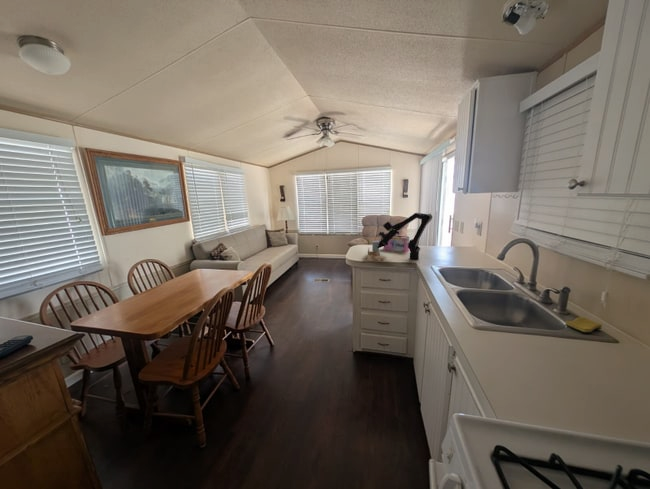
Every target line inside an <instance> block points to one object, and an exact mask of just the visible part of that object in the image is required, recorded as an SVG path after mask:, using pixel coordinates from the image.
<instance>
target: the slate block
mask: <svg viewBox="0 0 650 489" xmlns="http://www.w3.org/2000/svg"><path fill="white" fill-rule="evenodd" d="M379 242H380V240H372V250H371V252H380V248H377V247H378V246H379Z"/></svg>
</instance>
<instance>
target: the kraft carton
mask: <svg viewBox="0 0 650 489" xmlns="http://www.w3.org/2000/svg"><path fill="white" fill-rule="evenodd" d="M380 253H381V251H379V252H372V251H370V247H368V249H367V261H371V262H372V261H373V262H388V257H387V256H380V255H381V254H380Z"/></svg>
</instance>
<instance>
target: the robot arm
mask: <svg viewBox="0 0 650 489" xmlns="http://www.w3.org/2000/svg"><path fill="white" fill-rule="evenodd" d="M417 219H418V220H420V225H419V227H418V229H417V232H416V233H415V235H414V237H413V238H412V239H409V244H408V248H409V252H410V253H409V260H414V261H415V260H417V261H418V260H419V256H420V250H421V247H419V241H420V239H421V237H422V235H423V233H424V231H425V229H426V227H427V225H428V224H429V223H430V222H431V221H432V220H433V215H432V214H431V213H422V212H421V213H420V212H415V213H413V214H412V215H410V216H409V217H407V218H405V220H403V221H401V222H398V223H396V224H392V223H391V222H390V221H387V222H385V223H384V224H383V225H382V226H383V228H384V229H385V230H386V231H387V232H386V233H385V232H383V231H382V230H380V231H379V233H378V236H381V237H380V240H379V246H378V247H377V248H379V249H380V248H384V246H387V245H388V242H389V240H390V239H392V238H393V237H394V236H395V235H397V236H400V231H401V230H403V229H404V228H405V227H406V226H407V225H409V224H410V223H411V222H413V221H414V220H417Z"/></svg>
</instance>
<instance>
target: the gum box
mask: <svg viewBox="0 0 650 489" xmlns="http://www.w3.org/2000/svg"><path fill="white" fill-rule="evenodd" d="M409 241H410V236H406V235H398V234H396V235H395V236H394V237H393V238H392V239H390V240H389V242H388V245H387V246H383V249H384V250H389V251H395V252H402V253H406V252H408V251H409V252H410V249H409V248H408V244H409Z"/></svg>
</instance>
